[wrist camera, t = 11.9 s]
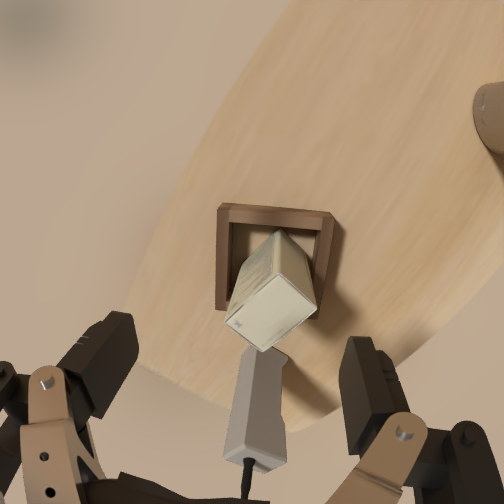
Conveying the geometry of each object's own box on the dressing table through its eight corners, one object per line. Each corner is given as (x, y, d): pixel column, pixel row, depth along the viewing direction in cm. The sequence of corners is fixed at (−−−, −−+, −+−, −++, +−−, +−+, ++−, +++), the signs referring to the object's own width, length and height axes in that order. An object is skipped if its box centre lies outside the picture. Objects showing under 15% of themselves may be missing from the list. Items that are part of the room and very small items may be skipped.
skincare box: (268, 287, 35) (261, 356, 23) (240, 262, 34) (220, 324, 23) (308, 251, 33) (320, 310, 21) (279, 224, 32) (278, 272, 21)
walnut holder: (329, 212, 31) (334, 219, 28) (314, 305, 35) (317, 319, 32) (222, 202, 32) (217, 209, 29) (220, 296, 36) (215, 309, 33)
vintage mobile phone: (271, 370, 39) (256, 542, 16) (241, 354, 39) (207, 531, 15) (288, 355, 38) (284, 537, 15) (258, 337, 37) (231, 527, 14)
